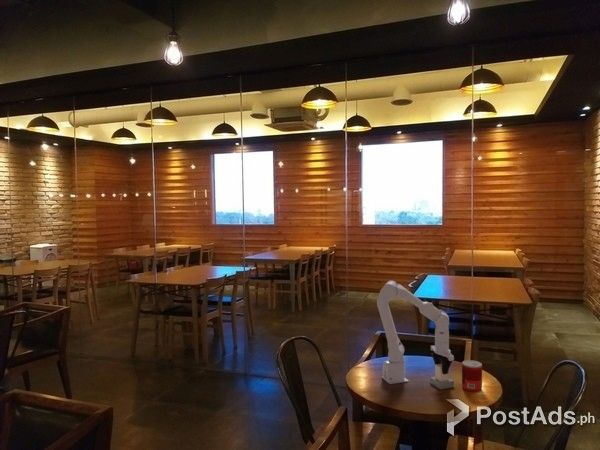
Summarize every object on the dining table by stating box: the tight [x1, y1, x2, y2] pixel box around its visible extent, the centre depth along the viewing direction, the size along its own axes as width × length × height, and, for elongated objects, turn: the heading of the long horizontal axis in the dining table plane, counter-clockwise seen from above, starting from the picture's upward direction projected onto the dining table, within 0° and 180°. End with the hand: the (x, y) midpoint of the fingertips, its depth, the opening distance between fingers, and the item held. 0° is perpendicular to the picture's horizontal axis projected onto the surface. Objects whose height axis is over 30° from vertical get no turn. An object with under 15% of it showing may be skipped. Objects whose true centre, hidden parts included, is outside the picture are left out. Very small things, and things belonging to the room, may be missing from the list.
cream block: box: [434, 363, 450, 381], centre depth 191 cm, size 4×4×6 cm
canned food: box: [461, 359, 483, 393], centre depth 187 cm, size 8×8×11 cm
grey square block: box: [429, 375, 455, 390], centre depth 192 cm, size 7×7×3 cm
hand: (441, 371), depth 191 cm, fingers open, 4 cm apart
